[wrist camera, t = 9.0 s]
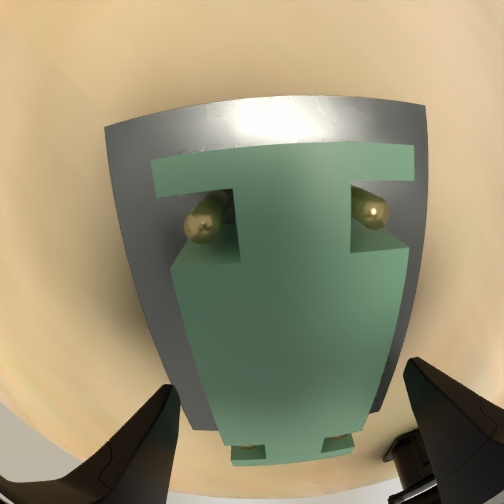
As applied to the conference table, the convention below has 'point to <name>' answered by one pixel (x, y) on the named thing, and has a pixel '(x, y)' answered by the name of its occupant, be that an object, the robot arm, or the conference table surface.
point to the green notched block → (289, 293)
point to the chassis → (223, 209)
